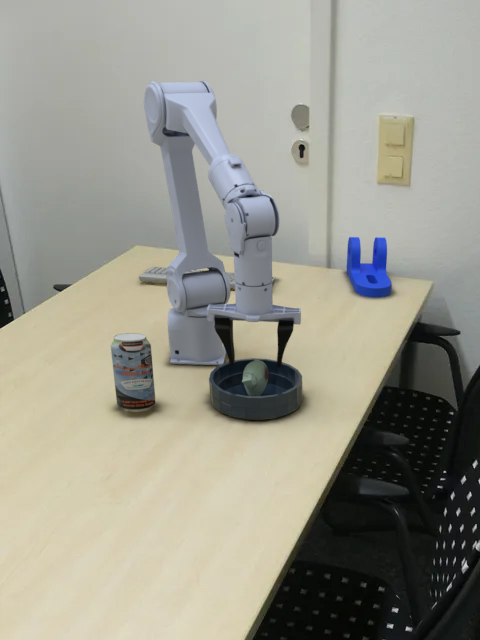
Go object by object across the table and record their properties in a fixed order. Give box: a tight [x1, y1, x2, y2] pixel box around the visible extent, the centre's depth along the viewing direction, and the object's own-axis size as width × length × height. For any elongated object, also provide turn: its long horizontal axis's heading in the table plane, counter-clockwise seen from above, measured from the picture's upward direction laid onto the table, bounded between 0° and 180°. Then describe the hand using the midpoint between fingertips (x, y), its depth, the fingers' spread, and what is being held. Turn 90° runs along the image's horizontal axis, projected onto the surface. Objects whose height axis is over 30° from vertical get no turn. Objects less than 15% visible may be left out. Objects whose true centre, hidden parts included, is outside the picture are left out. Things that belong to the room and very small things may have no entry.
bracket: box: [346, 236, 392, 298], centre depth 179 cm, size 18×8×9 cm, turn 9°
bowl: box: [208, 357, 303, 421], centre depth 130 cm, size 15×15×4 cm
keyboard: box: [138, 265, 276, 289], centre depth 177 cm, size 29×10×2 cm, turn 86°
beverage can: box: [110, 332, 157, 413], centre depth 123 cm, size 6×7×12 cm
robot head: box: [242, 360, 269, 396], centre depth 129 cm, size 8×4×7 cm, turn 173°
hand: (255, 363), depth 127 cm, fingers open, 7 cm apart
